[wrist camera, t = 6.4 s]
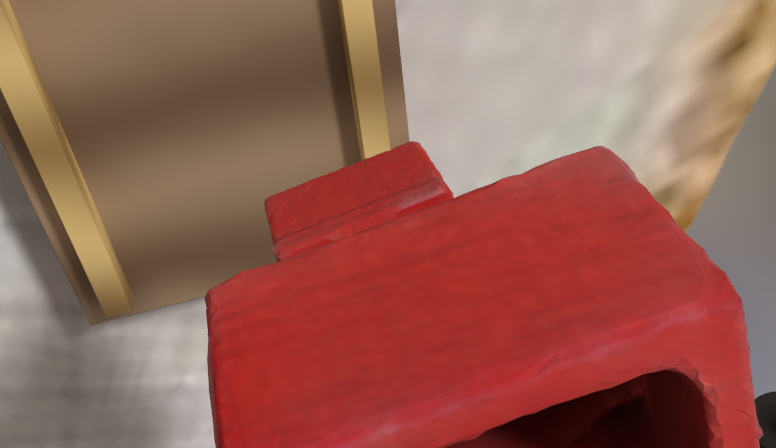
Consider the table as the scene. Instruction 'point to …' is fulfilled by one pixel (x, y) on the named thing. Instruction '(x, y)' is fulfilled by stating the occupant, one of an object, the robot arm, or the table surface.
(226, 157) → the platform
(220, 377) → the toy fire truck
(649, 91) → the table surface
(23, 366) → the table surface
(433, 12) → the table surface
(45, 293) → the table surface
